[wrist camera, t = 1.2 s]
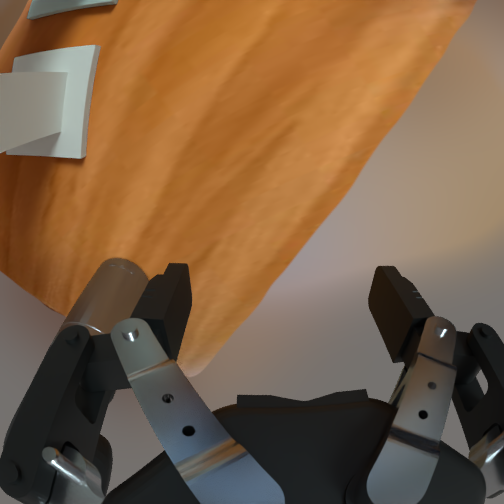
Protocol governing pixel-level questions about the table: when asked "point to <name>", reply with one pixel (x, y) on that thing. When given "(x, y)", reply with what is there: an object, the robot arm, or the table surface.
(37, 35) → the table surface
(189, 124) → the table surface
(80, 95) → the tall pedestal
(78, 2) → the low pedestal
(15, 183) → the table surface
